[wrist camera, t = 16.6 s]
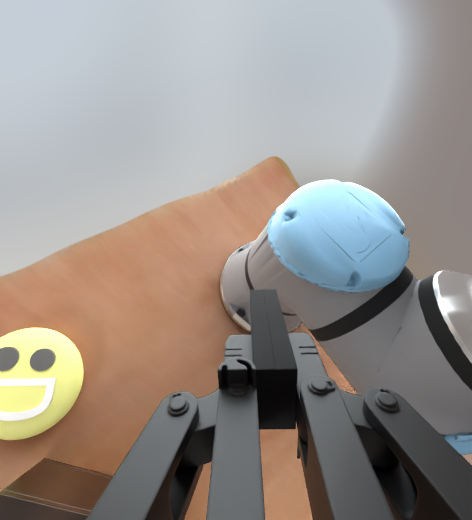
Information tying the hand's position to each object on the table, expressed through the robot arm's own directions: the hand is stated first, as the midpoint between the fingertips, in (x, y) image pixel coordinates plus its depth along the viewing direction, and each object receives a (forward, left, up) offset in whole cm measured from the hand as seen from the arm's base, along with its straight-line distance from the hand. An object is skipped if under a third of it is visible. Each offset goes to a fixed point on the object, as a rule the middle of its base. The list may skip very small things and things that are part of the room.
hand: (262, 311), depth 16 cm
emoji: (+21, +5, -27) cm, 34 cm away
